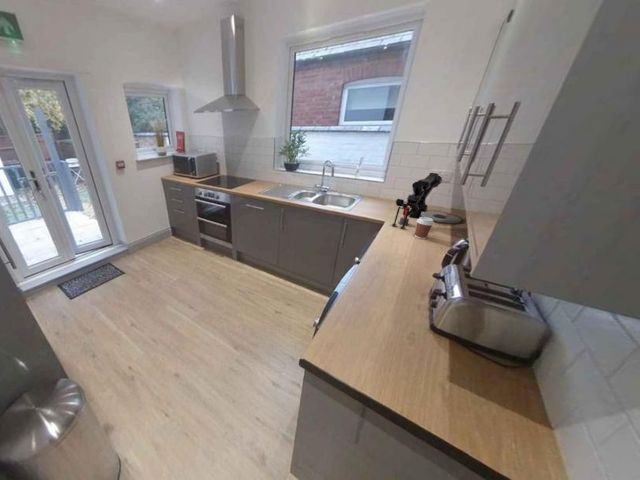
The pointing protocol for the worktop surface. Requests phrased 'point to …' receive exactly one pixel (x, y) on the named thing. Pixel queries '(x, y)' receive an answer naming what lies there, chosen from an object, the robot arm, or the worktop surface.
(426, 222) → the coffee cup
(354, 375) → the worktop surface
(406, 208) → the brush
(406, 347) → the worktop surface
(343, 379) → the worktop surface
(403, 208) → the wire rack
